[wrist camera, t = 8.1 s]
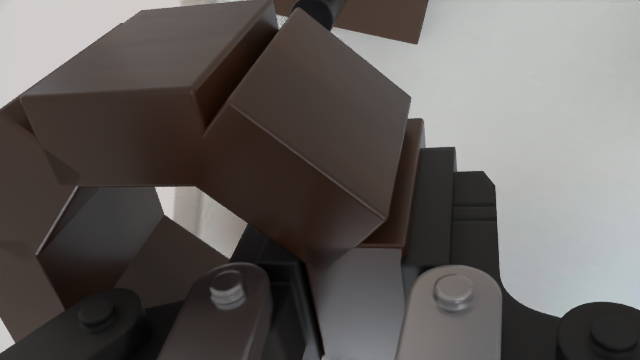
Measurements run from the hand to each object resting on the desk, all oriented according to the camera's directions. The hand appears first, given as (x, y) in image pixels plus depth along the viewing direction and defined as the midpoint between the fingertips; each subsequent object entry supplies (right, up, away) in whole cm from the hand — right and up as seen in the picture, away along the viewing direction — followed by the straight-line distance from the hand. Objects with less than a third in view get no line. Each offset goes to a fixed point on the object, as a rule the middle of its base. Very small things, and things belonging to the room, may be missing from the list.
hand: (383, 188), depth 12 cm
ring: (-3, 0, +1) cm, 3 cm away
